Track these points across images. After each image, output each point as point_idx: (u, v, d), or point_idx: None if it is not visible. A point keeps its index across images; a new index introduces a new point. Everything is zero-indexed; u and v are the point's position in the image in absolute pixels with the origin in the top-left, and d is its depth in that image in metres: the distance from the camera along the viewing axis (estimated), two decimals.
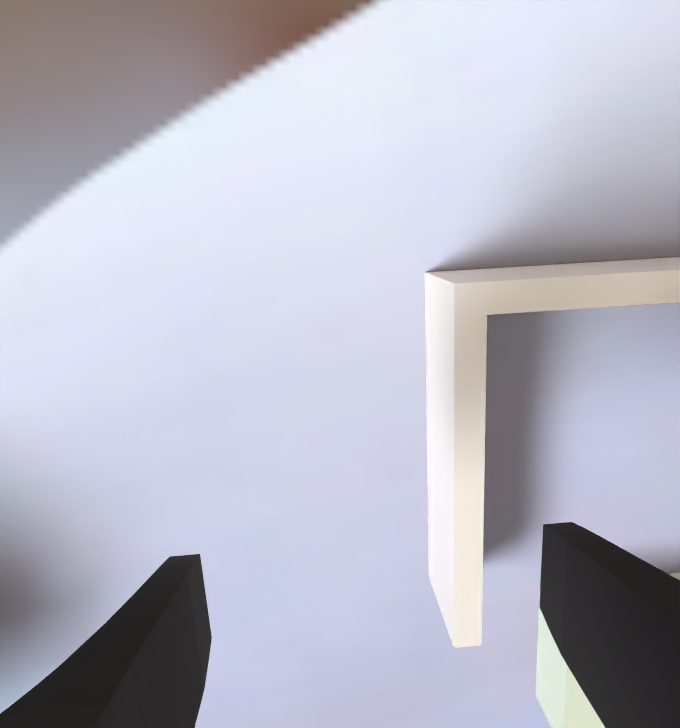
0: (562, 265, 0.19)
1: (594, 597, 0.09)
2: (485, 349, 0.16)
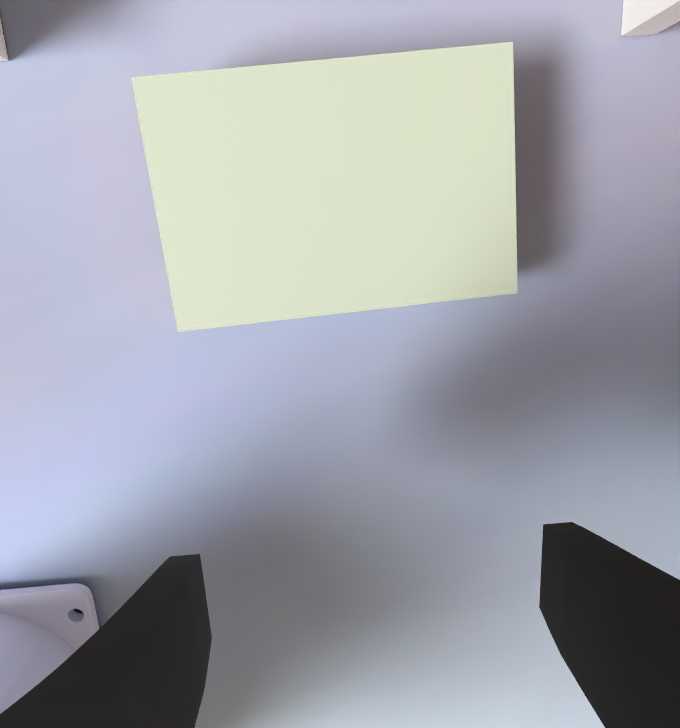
0: None
1: (594, 598, 0.09)
2: None
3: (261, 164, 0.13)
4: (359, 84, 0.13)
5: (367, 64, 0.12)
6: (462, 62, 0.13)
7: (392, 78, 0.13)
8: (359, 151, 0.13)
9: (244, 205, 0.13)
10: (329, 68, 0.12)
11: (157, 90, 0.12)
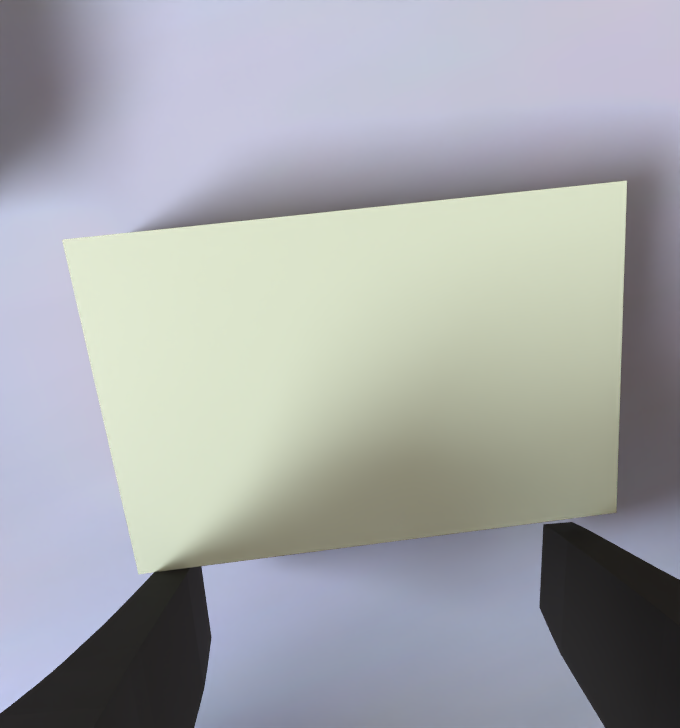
0: None
1: (594, 597, 0.09)
2: None
3: (255, 355, 0.09)
4: (400, 242, 0.09)
5: (412, 215, 0.08)
6: (552, 210, 0.09)
7: (449, 234, 0.09)
8: (398, 334, 0.09)
9: (231, 409, 0.09)
10: (356, 222, 0.08)
11: (102, 257, 0.08)
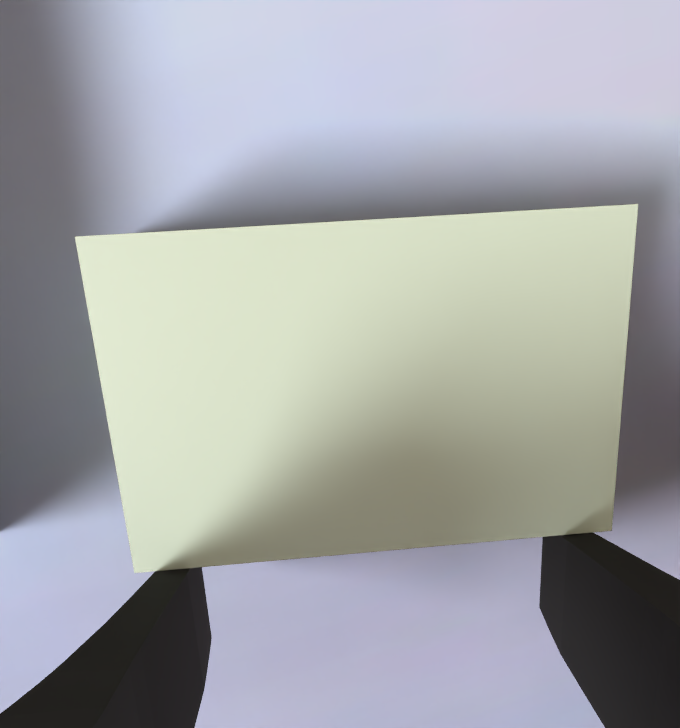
0: None
1: (594, 598, 0.09)
2: None
3: (263, 359, 0.09)
4: (412, 254, 0.09)
5: (425, 228, 0.08)
6: (563, 230, 0.09)
7: (460, 249, 0.09)
8: (405, 345, 0.09)
9: (235, 412, 0.09)
10: (369, 232, 0.08)
11: (113, 255, 0.08)
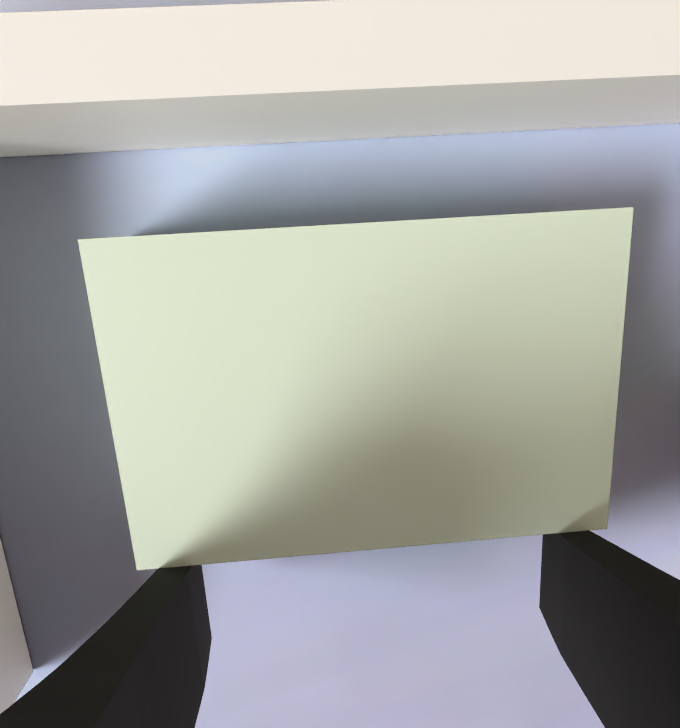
0: None
1: (594, 597, 0.09)
2: None
3: (262, 360, 0.09)
4: (409, 257, 0.09)
5: (423, 231, 0.09)
6: (559, 232, 0.09)
7: (458, 251, 0.09)
8: (403, 346, 0.09)
9: (235, 412, 0.09)
10: (368, 235, 0.09)
11: (116, 258, 0.08)
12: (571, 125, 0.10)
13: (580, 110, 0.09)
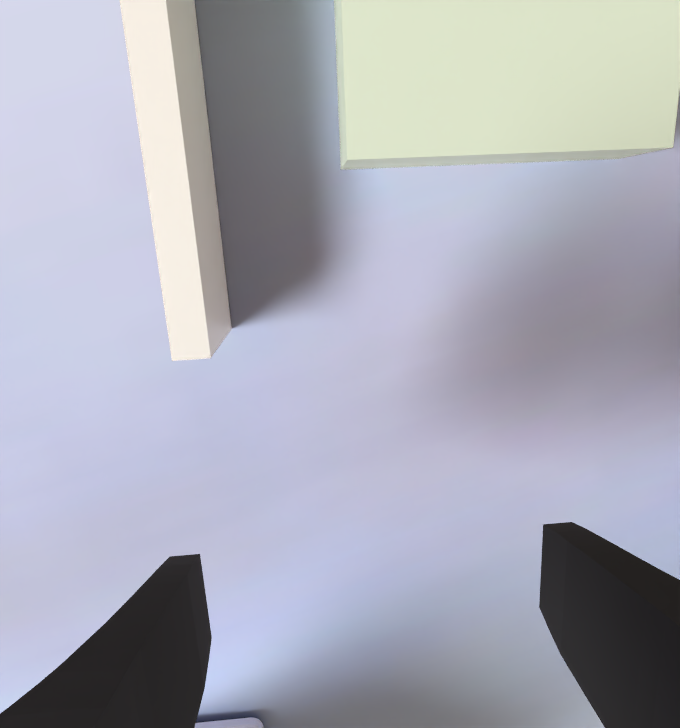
0: None
1: (595, 597, 0.09)
2: None
3: None
4: None
5: None
6: None
7: None
8: None
9: (426, 33, 0.13)
10: None
11: None
12: None
13: None
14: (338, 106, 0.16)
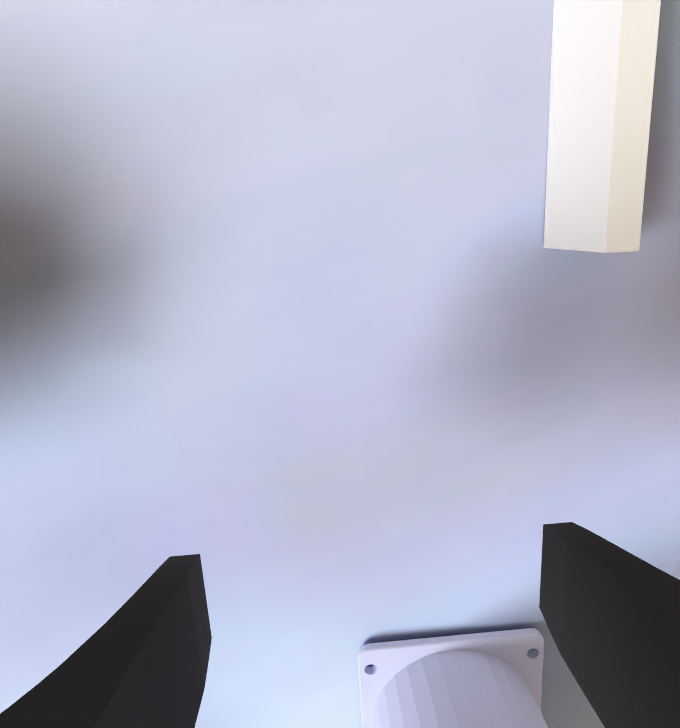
0: None
1: (595, 597, 0.09)
2: None
3: None
4: None
5: None
6: None
7: None
8: None
9: None
10: None
11: None
12: None
13: None
14: None
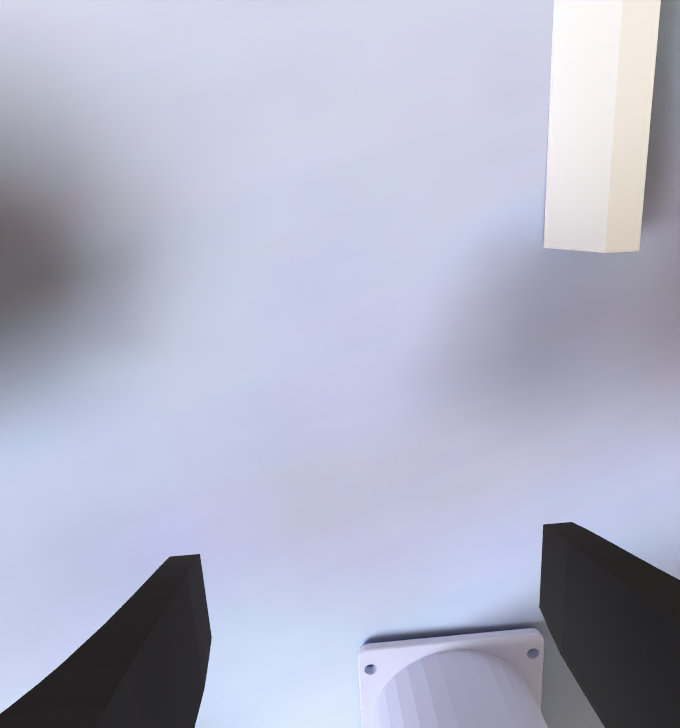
0: None
1: (595, 597, 0.09)
2: None
3: None
4: None
5: None
6: None
7: None
8: None
9: None
10: None
11: None
12: None
13: None
14: None
